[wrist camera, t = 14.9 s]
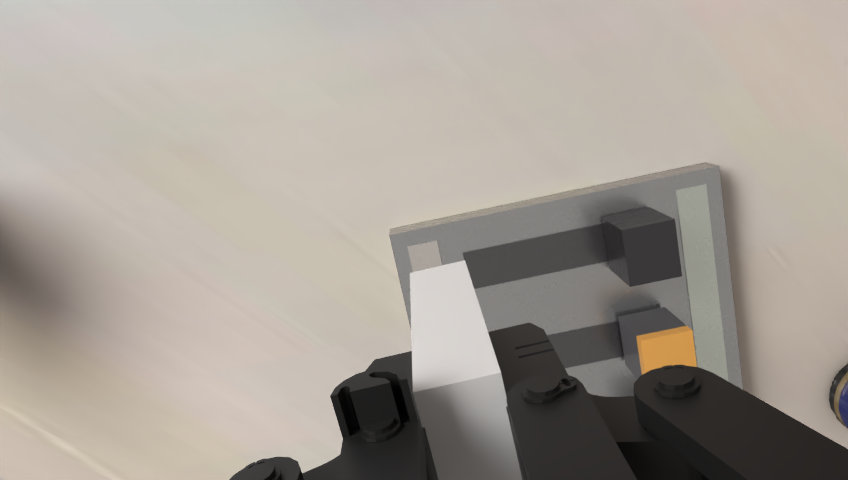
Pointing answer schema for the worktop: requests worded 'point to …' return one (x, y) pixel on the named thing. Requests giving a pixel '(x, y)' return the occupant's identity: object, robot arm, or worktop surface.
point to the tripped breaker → (655, 341)
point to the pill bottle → (840, 396)
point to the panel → (595, 268)
